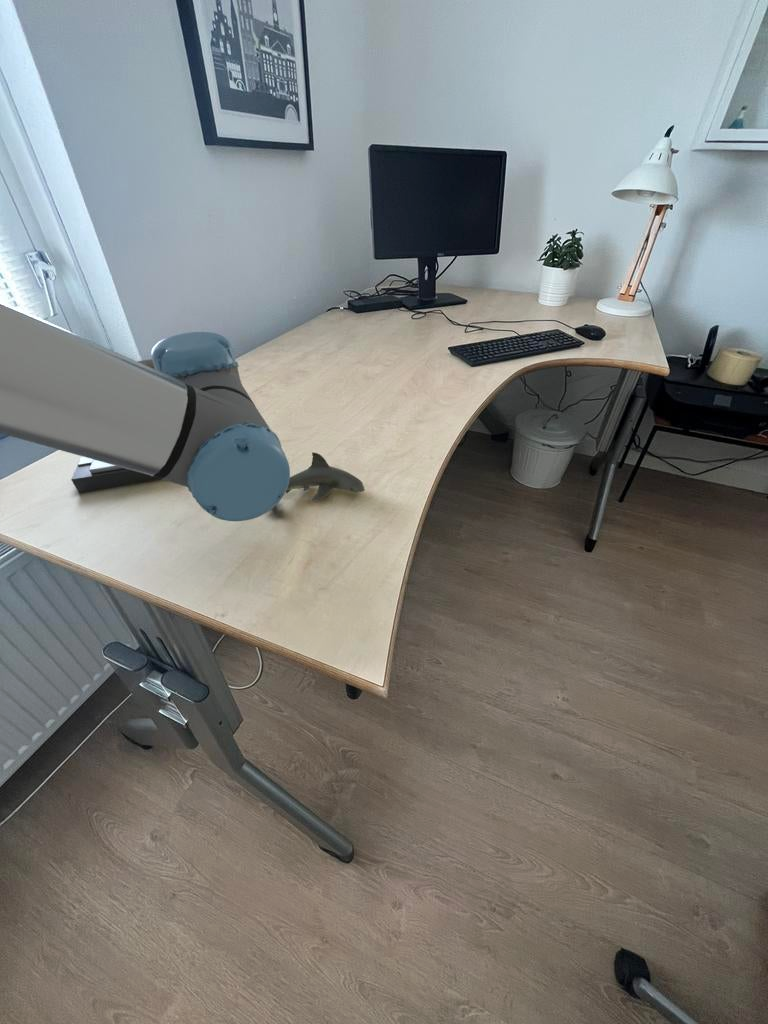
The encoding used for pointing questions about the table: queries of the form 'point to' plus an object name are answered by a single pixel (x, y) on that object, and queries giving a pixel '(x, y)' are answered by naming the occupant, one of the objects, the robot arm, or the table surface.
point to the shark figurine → (323, 480)
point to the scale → (104, 475)
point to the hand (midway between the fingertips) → (152, 385)
